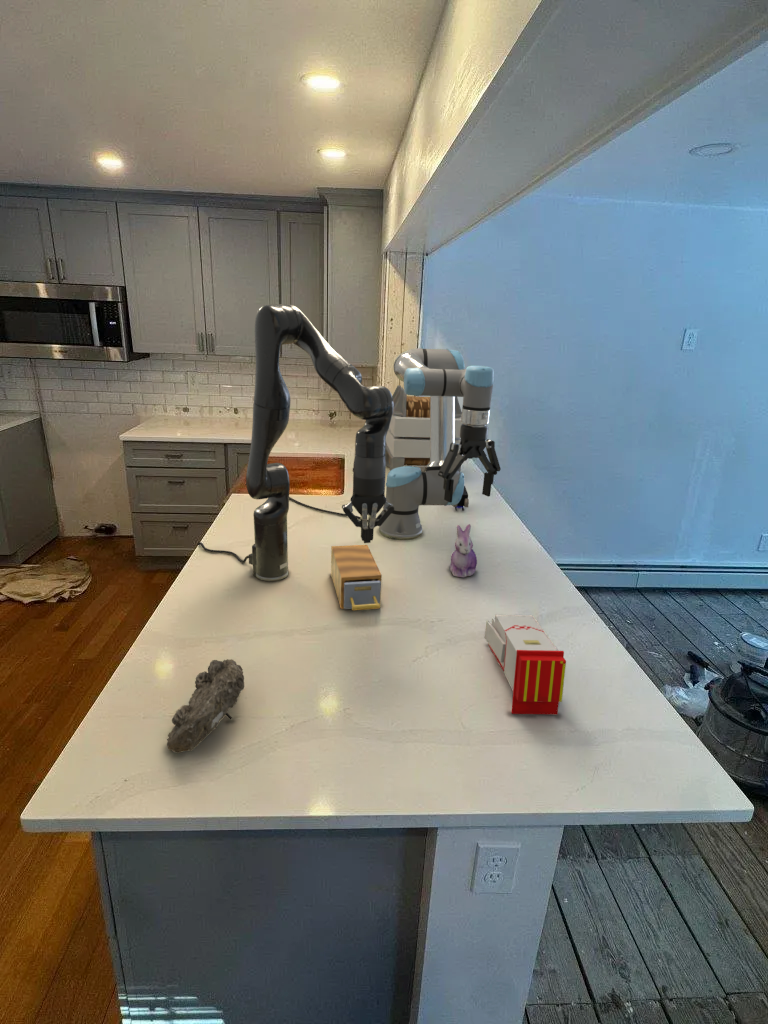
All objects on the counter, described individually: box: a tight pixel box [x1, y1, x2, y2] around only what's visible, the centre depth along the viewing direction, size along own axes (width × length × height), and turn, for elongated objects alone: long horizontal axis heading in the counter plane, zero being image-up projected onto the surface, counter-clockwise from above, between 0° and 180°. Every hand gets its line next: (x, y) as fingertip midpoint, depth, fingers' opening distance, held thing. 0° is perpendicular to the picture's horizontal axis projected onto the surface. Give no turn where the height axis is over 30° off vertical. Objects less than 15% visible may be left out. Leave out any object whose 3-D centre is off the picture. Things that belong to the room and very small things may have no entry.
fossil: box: [166, 658, 245, 754], centre depth 106 cm, size 22×10×15 cm
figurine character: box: [451, 485, 470, 512], centre depth 229 cm, size 7×8×15 cm
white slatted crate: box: [385, 384, 463, 472], centre depth 268 cm, size 34×33×41 cm
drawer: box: [343, 579, 382, 611], centre depth 153 cm, size 25×9×7 cm, turn 12°
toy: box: [484, 614, 567, 716], centre depth 124 cm, size 12×13×30 cm
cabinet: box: [330, 544, 383, 610], centre depth 158 cm, size 20×11×9 cm, turn 12°
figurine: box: [449, 523, 478, 578], centre depth 170 cm, size 9×10×15 cm
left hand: (366, 541), depth 138 cm, fingers closed
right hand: (467, 498), depth 162 cm, fingers open, 13 cm apart
